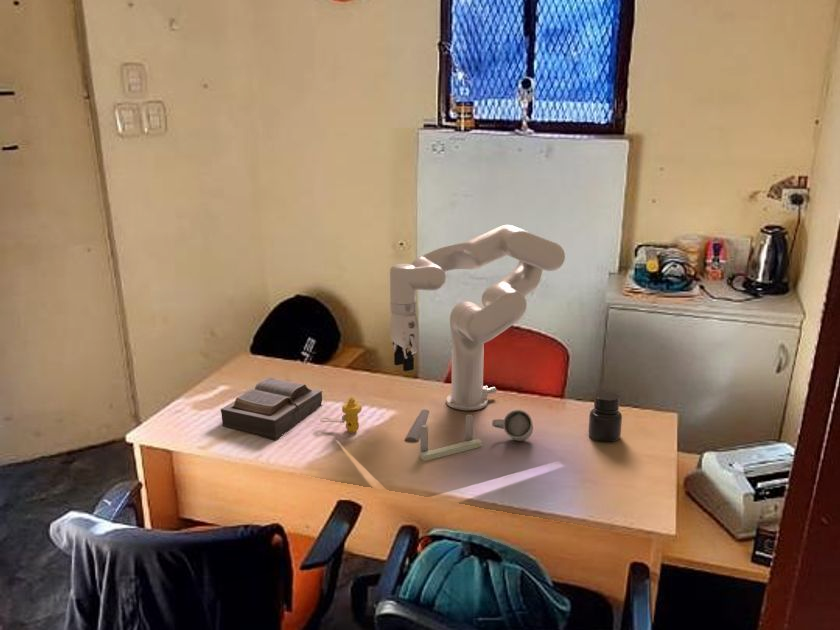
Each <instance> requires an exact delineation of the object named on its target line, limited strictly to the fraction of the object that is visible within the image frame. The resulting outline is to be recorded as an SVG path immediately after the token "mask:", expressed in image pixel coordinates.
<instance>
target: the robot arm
mask: <svg viewBox="0 0 840 630" xmlns="http://www.w3.org/2000/svg"><path fill="white" fill-rule="evenodd" d="M506 256H509V257H511V258H513V259H516V261H517V260H518V263H517V265H516V267H515V268H514V269H513V270H512V271H511V272H509V273H508V274H507V275H505V276H503V277H502V278H500V279H499V280H498V281H496V282H495V283H493V284H491V285H490V286H489V287H487V288H486V289H485V290H484V291H483V293H482V294H481V295H482V296H481V303H482V305H483V308H482V307H481V306H480V305H478V304H476V303H474V302H472V301H465V300H464V301H461V302H459V303H457V304H456V305H455V306H454V307H453V308H452V309H451V312H450V315H449V327H450V334H451V393H450V394H449V395H447V396H446V398H445V403H446V405H448V406H449V407H450V408H452V409H455V410H459V411H476V410H477V411H478V410H481V409H483V408H485V407H486V406H487V405H488V398H487V396H489V395H492V394H496V393H497V388H496V386H492V387H488V385H484V356H485V355H484V354H485V353H484V352H485V351H484V350H485V346H484V344H485V343H487V342H490V341H491V340H493V339H494V338H496V337H498V336H499V335H500V334H502V333H504V332H506V330H508V329H509V328H511V327H512V326H513V325H515V324H516V323H517V322H519V321H520V320H521V319H522V318H523V316H524V315H525V313H526V310H527V300H526V297H528V296H529V294H531V293H532V292H533V291H534V290H536V288H537V287H538V286H539V283H540V281H541V278H542V276H543V275H542V274H543V271H545V272H554V271H557V270H558V269H560V268H561V267H562V266H563V264H564V263H565V259H566V254H565V250H564V248H563V246H561V245H560V244H558V243H557V242H555V241H552V240H549V239H546V238H544V237H541V236H538V235H536V234H534V233H532V232H530V231H527V230H526V229H523V228H520V227H517V226H515V225H511V224H503V225H500V226H497V227H495V228H493V229H491V230H489V231H487V232H484V233H482V234H480V235H478V236H476V237H473V238H471V239H469V240H467V241H464V242H459V243H454V244H451V245H447V246H443V247H439V248H437V249H434V250H432V251H430V252H427V253H425V254H423V255H421V256H418V257H417V258H415V259H414V260H413V261H412V262H411V264H410V263H396V264H394V265H391V267H390V270H389V282H390V283H389V290H390V291H389V295H390V298H389V299H390V300H389V301H390V302H389V303H390V304H389V306H390V307H389V309H390V323H389V325H390V326H389V327H390V328H389V329H390V331H389V334H390V336H389V337H390V340H391V342H392V345H393V349H392V351H393V352H394V354H393V357H394V358H393V360H394V361H393V364H394V365H395V366H400V365H402V369H403V370H402V371H403V372H409V371H413V370H414V369H415V368H414V367H415V364H414V361H415V359H414V358H415V355H416V353H417V352H418V351H419V350H418V348H419V346H420V329H419V320H418V315H417V309H418V308H417V304H418V302H417V299H418V298H417V295H418V294H417V291H431V292H432V291H437V290H439V289H441V288H442V287H443V286H444V285H445V283H446V280H447V276H446V273H445V272H449V271H453V270H475V269H481V268H482V267H484V266H486V265H489V264H491V263H493V262H495V261H497V260H499V259H502V258H504V257H506Z"/></svg>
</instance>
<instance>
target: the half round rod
mask: <svg viewBox="0 0 840 630" xmlns="http://www.w3.org/2000/svg"><path fill="white" fill-rule="evenodd" d="M429 415H430V410H429V409H421V411H420V413H419V414H418V416H417V417H416V419H415V420H414V422H413V424H412V426H411V427H410V429H409V431H408V433H407V435H406V437H405V438H404V441H409V442H410V441H411V442H419V441H420V426H421V425H427V422H428V418H429Z"/></svg>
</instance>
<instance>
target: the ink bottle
mask: <svg viewBox="0 0 840 630" xmlns="http://www.w3.org/2000/svg"><path fill="white" fill-rule="evenodd" d="M620 399H621V397H620V395H619V394H618V393H616V392H614V391H609V390H608V391H607V390H603V391H602V390H601V391H597V392H596V393H594V402H593V408H592V409H591V410H590V411H589V417H588V418H589V419H588V429H587V430H588V435H589V436H590V437H591V438H592V439H594V440H597V441H603V442H614V441H617V440H619V439H620V438H621V436H622V435H621V433H622V425H623V424H622V423H623V415H622V413H621V412H620V410H619V409H620Z"/></svg>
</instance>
